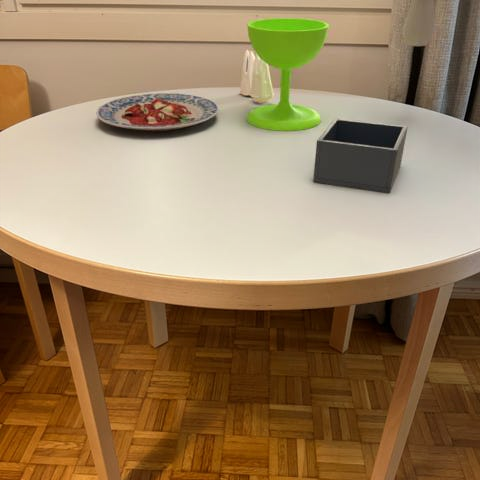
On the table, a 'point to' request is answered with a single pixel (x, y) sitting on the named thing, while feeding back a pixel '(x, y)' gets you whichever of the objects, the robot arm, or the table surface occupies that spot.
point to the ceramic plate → (157, 111)
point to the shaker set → (256, 78)
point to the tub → (359, 154)
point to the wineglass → (286, 67)
